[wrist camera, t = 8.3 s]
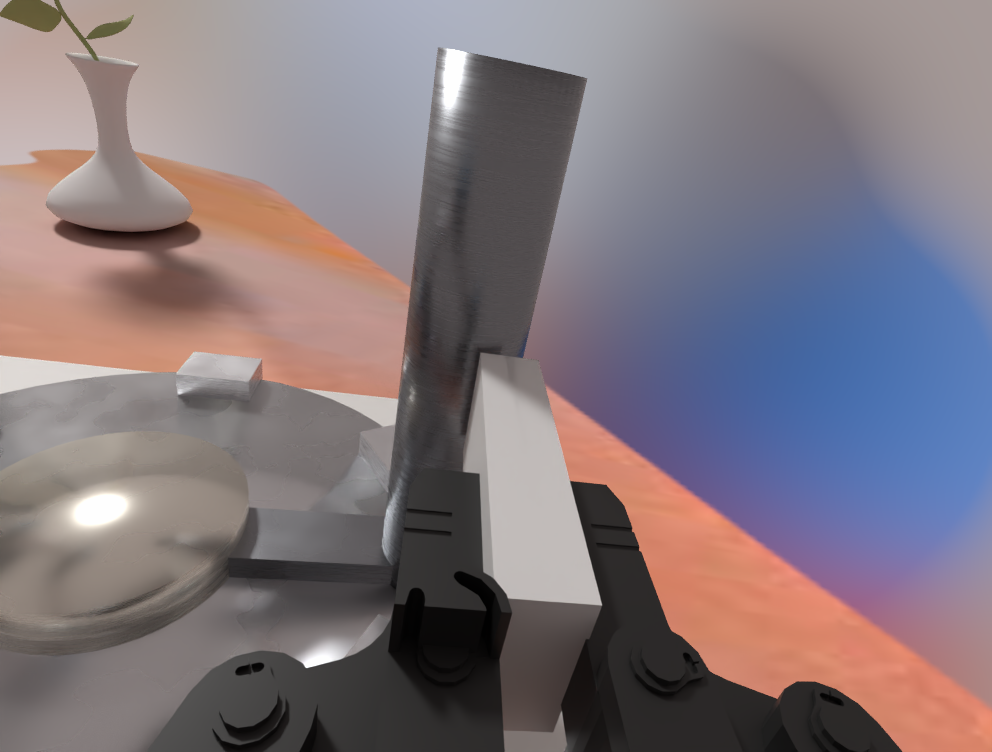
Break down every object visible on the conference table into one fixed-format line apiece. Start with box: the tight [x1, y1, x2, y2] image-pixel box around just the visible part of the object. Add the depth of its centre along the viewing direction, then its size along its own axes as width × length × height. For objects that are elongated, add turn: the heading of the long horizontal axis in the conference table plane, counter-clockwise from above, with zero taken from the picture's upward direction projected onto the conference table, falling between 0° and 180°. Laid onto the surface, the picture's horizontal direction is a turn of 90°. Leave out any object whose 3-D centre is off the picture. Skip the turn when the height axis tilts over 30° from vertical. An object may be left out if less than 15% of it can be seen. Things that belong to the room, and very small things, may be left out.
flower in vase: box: [0, 0, 193, 232], centre depth 46 cm, size 13×11×25 cm
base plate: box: [0, 356, 567, 752], centre depth 18 cm, size 28×28×2 cm
